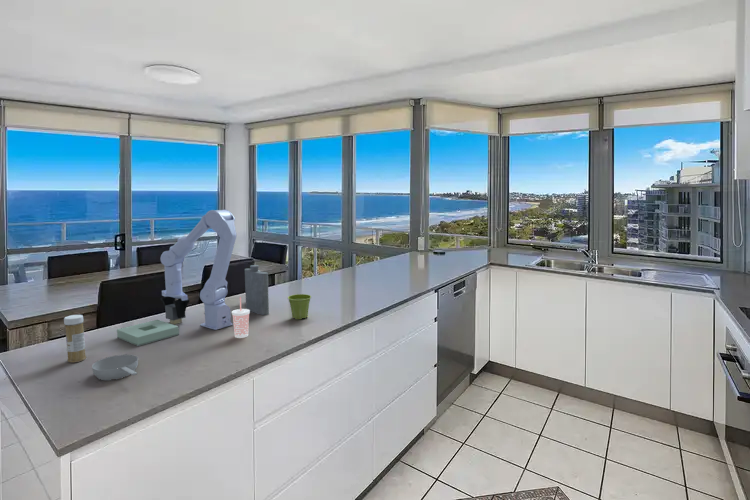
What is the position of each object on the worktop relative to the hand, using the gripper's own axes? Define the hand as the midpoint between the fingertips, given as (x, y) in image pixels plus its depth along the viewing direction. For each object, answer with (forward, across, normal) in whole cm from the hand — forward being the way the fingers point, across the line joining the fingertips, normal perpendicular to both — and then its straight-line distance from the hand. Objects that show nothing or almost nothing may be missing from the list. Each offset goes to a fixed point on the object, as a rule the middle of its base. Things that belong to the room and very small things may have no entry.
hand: (175, 316), depth 157 cm
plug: (+3, 0, 0) cm, 3 cm away
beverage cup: (+3, +33, +5) cm, 34 cm away
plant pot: (+3, +34, +33) cm, 47 cm away
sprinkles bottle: (+3, +11, -37) cm, 39 cm away
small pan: (+3, +34, -35) cm, 49 cm away
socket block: (+3, +7, -14) cm, 16 cm away
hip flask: (+3, +12, +29) cm, 32 cm away
